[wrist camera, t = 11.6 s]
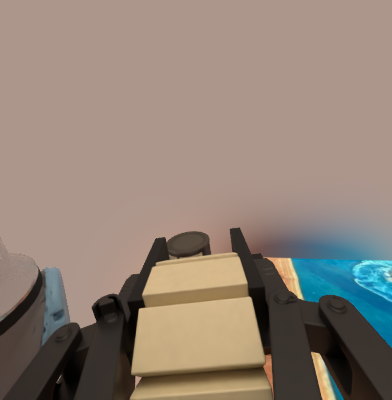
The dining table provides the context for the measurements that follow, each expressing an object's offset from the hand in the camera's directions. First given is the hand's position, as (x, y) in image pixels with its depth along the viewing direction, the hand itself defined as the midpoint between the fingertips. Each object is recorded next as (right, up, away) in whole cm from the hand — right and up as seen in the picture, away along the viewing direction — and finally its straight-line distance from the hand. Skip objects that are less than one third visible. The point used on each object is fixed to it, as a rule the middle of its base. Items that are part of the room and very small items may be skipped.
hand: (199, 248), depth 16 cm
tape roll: (0, -5, -4) cm, 7 cm away
